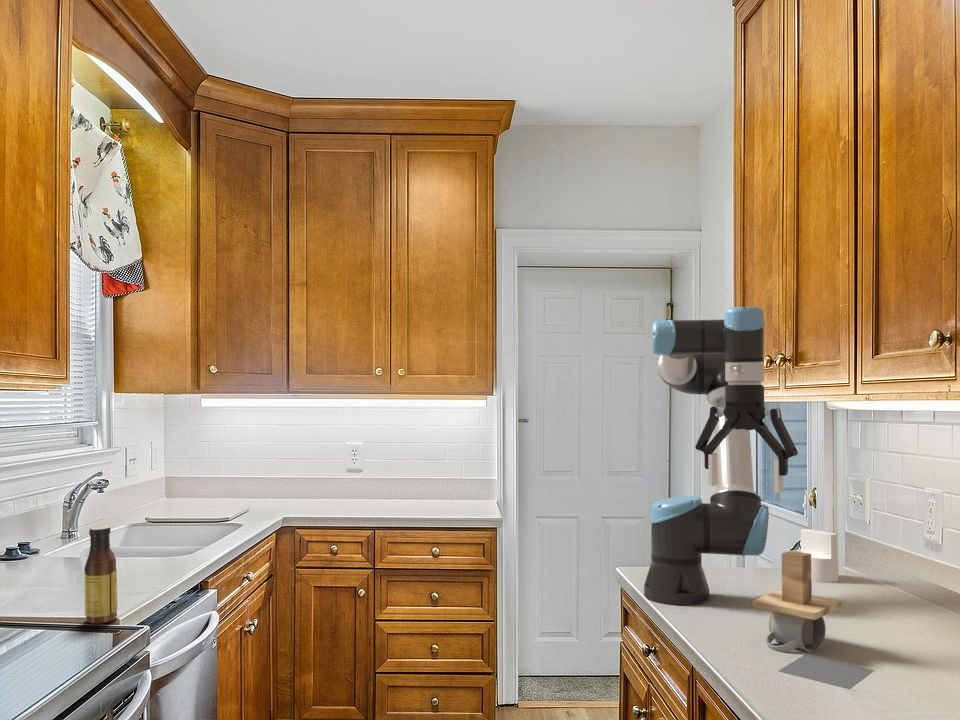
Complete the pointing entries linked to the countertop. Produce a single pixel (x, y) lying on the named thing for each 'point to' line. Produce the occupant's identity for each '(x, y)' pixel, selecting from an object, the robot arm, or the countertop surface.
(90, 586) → the sauce bottle
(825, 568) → the base with upright slab
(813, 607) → the wooden plaque with block
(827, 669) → the mat
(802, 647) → the ceramic mug
